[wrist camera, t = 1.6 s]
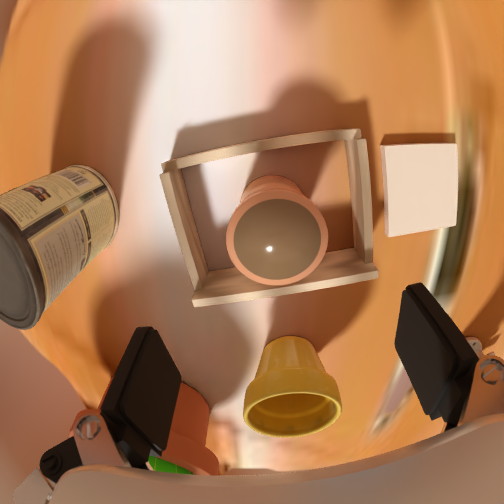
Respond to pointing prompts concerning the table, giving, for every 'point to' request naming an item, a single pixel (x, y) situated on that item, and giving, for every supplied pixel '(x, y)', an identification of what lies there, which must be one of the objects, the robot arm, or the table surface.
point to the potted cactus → (182, 437)
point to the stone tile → (419, 186)
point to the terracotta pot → (276, 232)
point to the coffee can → (51, 238)
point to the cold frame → (231, 279)
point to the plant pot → (291, 391)
